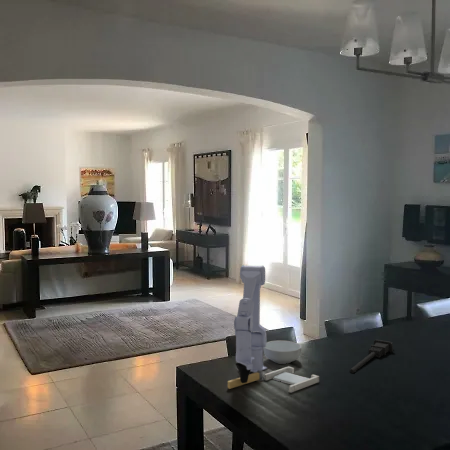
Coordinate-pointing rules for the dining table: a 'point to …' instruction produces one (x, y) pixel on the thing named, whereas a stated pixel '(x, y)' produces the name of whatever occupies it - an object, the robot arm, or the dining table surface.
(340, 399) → the dining table surface
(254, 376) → the bar
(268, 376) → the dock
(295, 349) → the cereal bowl
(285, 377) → the hard drive
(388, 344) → the electrical plug
